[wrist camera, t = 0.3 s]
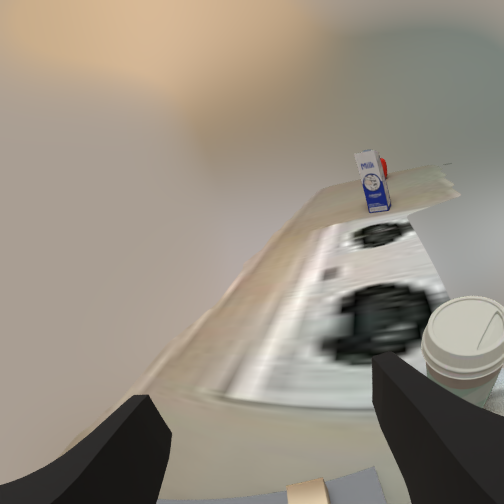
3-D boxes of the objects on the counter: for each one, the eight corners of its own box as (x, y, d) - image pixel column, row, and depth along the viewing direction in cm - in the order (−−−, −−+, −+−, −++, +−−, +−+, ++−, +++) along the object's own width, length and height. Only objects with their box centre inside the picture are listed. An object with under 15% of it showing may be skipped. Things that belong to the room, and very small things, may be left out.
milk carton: (368, 213, 90) (353, 153, 84) (372, 207, 95) (357, 150, 89) (389, 210, 85) (374, 149, 80) (391, 204, 90) (377, 146, 84)
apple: (376, 183, 129) (370, 161, 125) (371, 180, 137) (365, 160, 134) (392, 178, 127) (386, 157, 124) (386, 176, 135) (381, 156, 132)
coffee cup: (433, 458, 17) (451, 379, 14) (406, 400, 25) (404, 314, 22) (503, 418, 16) (535, 327, 13) (469, 370, 24) (479, 281, 21)
